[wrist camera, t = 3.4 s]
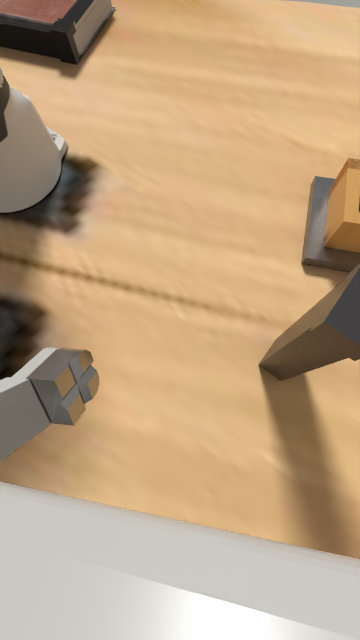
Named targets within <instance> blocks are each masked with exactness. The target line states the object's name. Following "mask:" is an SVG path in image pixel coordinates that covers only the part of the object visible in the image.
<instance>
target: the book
mask: <svg viewBox="0 0 360 640" xmlns="http://www.w3.org/2000/svg"><path fill="white" fill-rule="evenodd" d="M114 11H115V7H112V4H111V0H0V46H1V47H6V48H11V49H16V50H21V51H25V52H30V53H35V54H40V55H44V56H49V57H54V58H59V59H61V61H62V62H67V63H72V64H78V62H79V61H80V59H81V58H82V57H83V55H84V54H85V52H86V51H87V50H88V48H89V47H90V45H91V44H92V42H93V41H94V40H95V38H96V37H97V35H98V34H99V32H100V31H101V30H102V28H103V27H104V25H105V24H106V22H107V21H108V20H109V18H110V17H111V15H112V14H113V13H114Z"/></svg>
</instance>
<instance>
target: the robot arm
mask: <svg viewBox="0 0 360 640" xmlns="http://www.w3.org/2000/svg"><path fill="white" fill-rule="evenodd" d="M67 146H68V145H67V143H66V141H65V139H64V138H63V137H62V136H60V135H59V134H57V133H55V132H54V131H52V130H51V129H49V128H48V127H46V126H45V124H44V122H43V121H42V119H41V117H40V115H39V114H38V112H37V110H36V109H35V107H34V105H33V103H32V102H31V100H30V99H29V97H28V96H25V95H23V94H22V93H21V92H19V91H17V90H15V89H12V88H10V87H9V84H8V82H7V81H6V79H5V77H4V75H3V73H2V70H1V68H0V213H7V212H15V211H19V210H22V209H25V208H28V207H30V206H32V205H34V204H36V203H37V202H39V201H40V200H42V199H43V198H44V197H45V196H46V195H48V194H49V192H50V191H51V190H52V189H53V188H54V186H55V185H56V183H57V181H58V179H59V176H60V172H61V160H62V157H63V155H64V154H65V152H66V150H67ZM93 361H94V360H93V358H92V355H91V352H89V351H87V350H81V349H68V348H52V347H48V348H44V349H43V350H42V351H40V352H39V353H38V354H37V355H36V356H35V357H34V358H33V359H31V360H30V361H29V362H28V363H27V364H26V365H25V366H24V367H22V368H21V369H20V370H19V371H18V372H17V373H16V374H14V375H13V376H12V377H11V378H9V377H7V378H4V379H2V380H0V461H2V460H3V459H4V458H6V457H7V456H9V455H10V454H11V453H13V452H14V451H15V450H17V449H18V448H19V447H21V446H22V445H24V444H25V443H26V442H28V441H29V440H30V439H32V438H33V437H34V436H36V435H37V434H39V433H40V432H41V431H43V430H44V429H45V428H47V427H48V426H49V425H51V423H55V424H64V425H75V424H76V422H77V421H78V419H79V418H80V416H81V415H82V414H83V412H84V411H85V403H87V402H88V401H90V400H91V399H93V397H94V396H95V394H96V393H97V390H98V386H99V375H98V372H97V370H96V369H95V368H94V367H92V366H91V365H92V363H93ZM0 640H360V559H356V558H352V557H347V556H343V555H338V554H333V553H329V552H324V551H320V550H315V549H310V548H306V547H301V546H296V545H292V544H287V543H283V542H278V541H273V540H269V539H264V538H260V537H255V536H250V535H246V534H241V533H237V532H232V531H227V530H223V529H218V528H213V527H209V526H204V525H200V524H195V523H190V522H186V521H181V520H176V519H172V518H167V517H163V516H158V515H153V514H149V513H144V512H139V511H135V510H130V509H125V508H121V507H116V506H111V505H107V504H102V503H97V502H93V501H88V500H84V499H79V498H74V497H70V496H65V495H60V494H56V493H51V492H47V491H42V490H37V489H33V488H28V487H23V486H19V485H14V484H9V483H5V482H0Z"/></svg>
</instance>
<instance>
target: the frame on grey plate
mask: <svg viewBox="0 0 360 640" xmlns="http://www.w3.org/2000/svg"><path fill="white" fill-rule="evenodd" d="M301 264H307V265H312V266H318V267H324V268H329V269H335V270H340V271H346V272H351V271H352V270H353V269H354V268H355V267H356V266H358V265H359V264H360V160H357V159H350V158H348V160H347V162H346V163H345V165H344V166H343V168H342V170H341V171H340V173H339V175H338V176H337V178H336V179H332V178H324V177H317V176H315V178H314V180H313V182H312V184H311V189H310V198H309V206H308V214H307V222H306V230H305V238H304V246H303V254H302V263H301Z"/></svg>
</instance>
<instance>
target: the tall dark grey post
mask: <svg viewBox="0 0 360 640" xmlns="http://www.w3.org/2000/svg"><path fill="white" fill-rule="evenodd" d="M346 358H350V359H352V360H354V361H356V360H359V359H360V264H359V265H358V266H356V267H355V268H354V269H353V270H352V271H351V272H350V273H349V274H348V275H347V277H346V278H345V279H344V280H343V281H342V282H341V283H340V284H339V285H337V286H336V287H335V288H334V289H333V290H332V291H331V292H329V293H328V294H327V295H326V296H325V297H324V298H323V299H321V300H320V301H319V302H318V303H317V304H316V305H315V306H313V307H312V308H311V309H310V310H309V311H308V312H307V313H305V314H304V315H303V316H302V317H301V318H300V319H299V320H297V321H296V322H295V323H294V324H293V325H292V326H291V327H289V328H288V329H287V330H286V331H285V332H284V333H283V334H281V335H280V336H279V337H278V338H277V339H276V340H275V342H274V343H273V345H272V346H271V348H270V349H269V350H268V352H267V353H266V355H265V356H264V358H263V359H262V360H261V362H260V363H259V366H261V367H262V368H263V369H265V370H266V371H268V372H269V373H270V374H272V375H273V376H275V377H276V378H277V379H279V380H280V381H282V380H285V379H288V378H291V377H293V376H296V375H299V374H302V373H305V372H308V371H311V370H314V369H317V368H320V367H323V366H326V365H329V364H332V363H334V362H337V361H340V360H343V359H346Z"/></svg>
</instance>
